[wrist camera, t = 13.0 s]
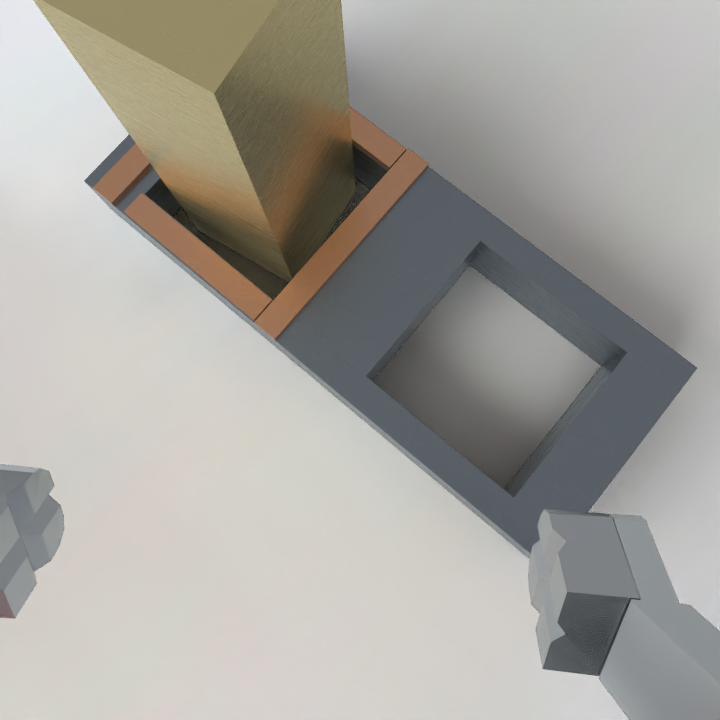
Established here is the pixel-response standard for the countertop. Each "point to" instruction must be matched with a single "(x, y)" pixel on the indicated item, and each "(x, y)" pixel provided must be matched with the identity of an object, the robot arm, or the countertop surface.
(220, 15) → the brass block
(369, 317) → the grey slotted board
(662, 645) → the robot arm
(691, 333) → the countertop surface
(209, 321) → the countertop surface
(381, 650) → the countertop surface
